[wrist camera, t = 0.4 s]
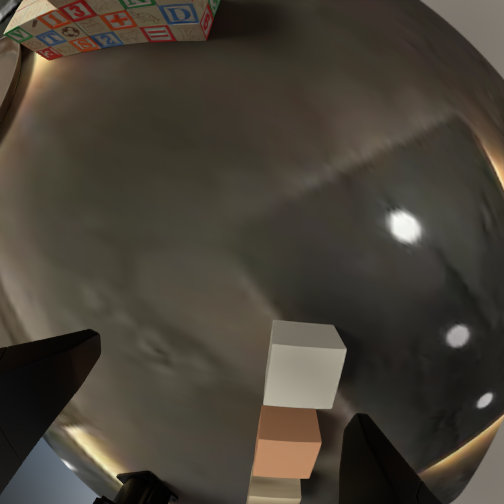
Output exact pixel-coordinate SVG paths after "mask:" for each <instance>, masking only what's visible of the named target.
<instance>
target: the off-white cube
mask: <svg viewBox="0 0 504 504" xmlns="http://www.w3.org/2000/svg"><path fill="white" fill-rule="evenodd" d="M346 351H347V349H346V347H345V345H344V343H343V342H342V340H341V338H340V336H339V334H338V332H337V331H336V329H335V327H334V325H326V324H313V323H302V322H291V321H281V320H273V323H272V331H271V339H270V346H269V353H268V361H267V368H266V377H265V390H264V402H263V405H270V406H281V407H295V408H315V409H332V405H333V402H334V398H335V395H336V391H337V387H338V384H339V380H340V376H341V372H342V368H343V364H344V359H345V355H346Z"/></svg>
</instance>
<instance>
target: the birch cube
mask: <svg viewBox="0 0 504 504" xmlns="http://www.w3.org/2000/svg"><path fill="white" fill-rule="evenodd" d="M253 465H254V463H253ZM252 473H253V467H252V472H251V478H250V483H249V489H248V497H247V504H299V503H300V501H301V485H300V479H297V478H275V477H262V476H252Z"/></svg>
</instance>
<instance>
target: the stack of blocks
mask: <svg viewBox="0 0 504 504" xmlns="http://www.w3.org/2000/svg"><path fill="white" fill-rule="evenodd" d="M220 1H221V0H23V1H22V3H21V4H20V6H19V7H18V9H17V11H16V13H15V15H14V16H13V18H12V20H11V21H10V23H9V25H8V27H7V28H6V30H5V32H4V35H5V36H7V37H8V38H10V39H12V40H14V41H15V42H17V43H21V44H22V45H24V46H25V47H27V48H29V49H30V50H32V51H34V52H36V53H38V54H39V55H41V56H42V57H44V58H46V59H47V60H51V59H55V58H58V57H61V56H68V55H73V54H77V53H81V52H86V51H92V50H97V49H101V48H106V47H113V46H119V45H124V44H134V43H144V42H164V41H206V40H207V38H208V35H209V32H210V29H211V26H212V23H213V21H214V16H215V14H216V11H217V9H218V6H219V3H220Z"/></svg>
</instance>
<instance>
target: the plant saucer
mask: <svg viewBox="0 0 504 504" xmlns="http://www.w3.org/2000/svg"><path fill="white" fill-rule="evenodd" d="M20 69H21V47H20V43H17V42H15V41H14V40H12V39H10V38H8V37H7V36H5V37H2V38H1V39H0V123H1V121H2V119H3V117H4V115H5V113H6V111H7V109H8V107H9V104H10V102H11V100H12V97H13V95H14V92H15V89H16V86H17V83H18V79H19V75H20Z"/></svg>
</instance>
